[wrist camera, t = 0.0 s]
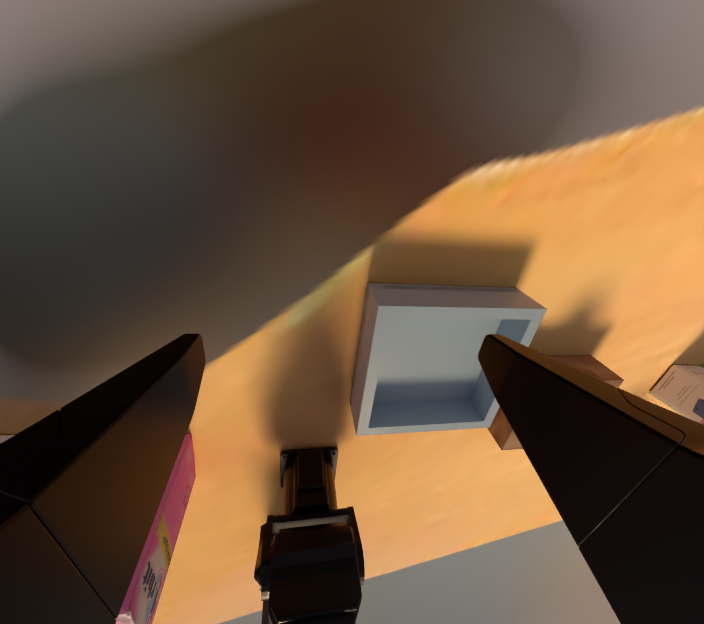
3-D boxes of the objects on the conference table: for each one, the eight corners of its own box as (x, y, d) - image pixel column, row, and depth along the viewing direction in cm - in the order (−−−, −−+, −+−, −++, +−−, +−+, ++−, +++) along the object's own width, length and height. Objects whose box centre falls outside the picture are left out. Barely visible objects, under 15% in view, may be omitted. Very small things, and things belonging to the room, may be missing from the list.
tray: (470, 398, 34) (489, 427, 31) (350, 403, 32) (356, 435, 28) (516, 287, 27) (547, 309, 24) (367, 282, 25) (378, 305, 21)
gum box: (-75, 488, 29) (-328, 726, 17) (-121, 432, 25) (-486, 689, 13) (197, 478, 34) (145, 654, 22) (193, 431, 30) (128, 613, 19)
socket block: (552, 417, 39) (577, 444, 35) (482, 421, 37) (501, 450, 33) (591, 355, 34) (624, 380, 30) (512, 356, 32) (538, 382, 28)
